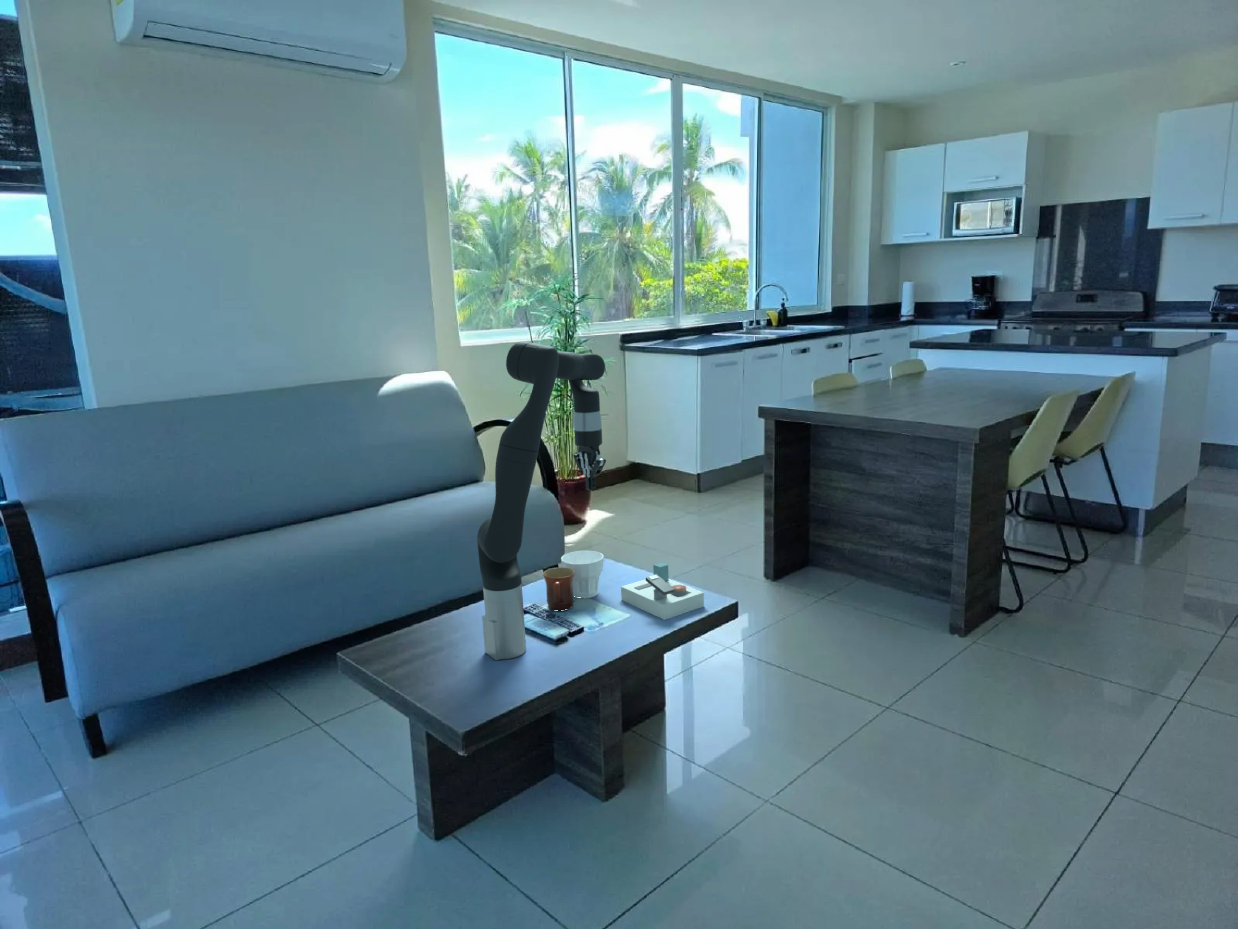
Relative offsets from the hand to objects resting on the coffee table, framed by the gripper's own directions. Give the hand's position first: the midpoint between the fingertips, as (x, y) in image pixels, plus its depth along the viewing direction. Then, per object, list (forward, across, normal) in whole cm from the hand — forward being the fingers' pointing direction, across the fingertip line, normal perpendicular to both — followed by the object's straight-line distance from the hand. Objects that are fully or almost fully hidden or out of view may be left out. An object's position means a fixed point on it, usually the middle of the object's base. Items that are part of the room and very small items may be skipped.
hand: (590, 489), depth 218 cm
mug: (+32, 0, +12) cm, 34 cm away
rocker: (+24, -20, -8) cm, 32 cm away
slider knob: (+27, -10, -16) cm, 33 cm away
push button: (+32, -20, -14) cm, 40 cm away
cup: (+32, +6, 0) cm, 33 cm away
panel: (+32, -15, -12) cm, 37 cm away
